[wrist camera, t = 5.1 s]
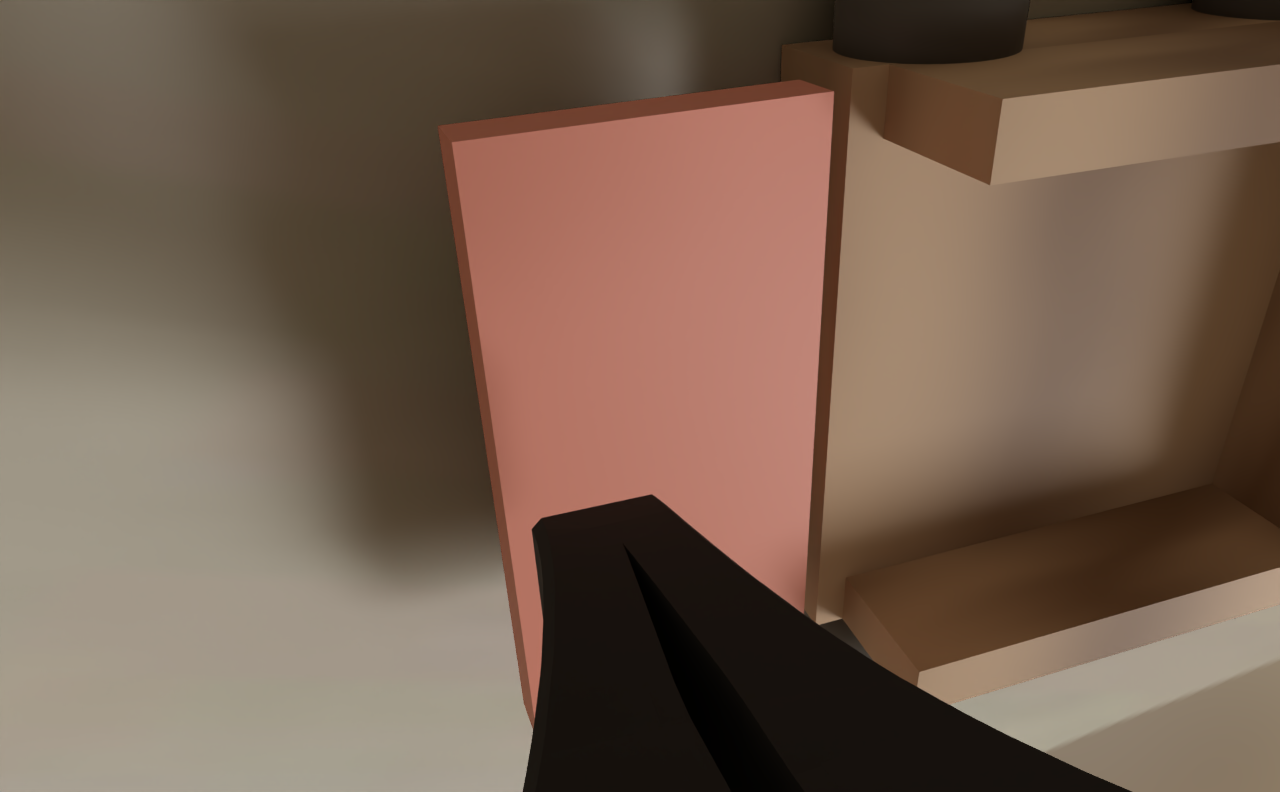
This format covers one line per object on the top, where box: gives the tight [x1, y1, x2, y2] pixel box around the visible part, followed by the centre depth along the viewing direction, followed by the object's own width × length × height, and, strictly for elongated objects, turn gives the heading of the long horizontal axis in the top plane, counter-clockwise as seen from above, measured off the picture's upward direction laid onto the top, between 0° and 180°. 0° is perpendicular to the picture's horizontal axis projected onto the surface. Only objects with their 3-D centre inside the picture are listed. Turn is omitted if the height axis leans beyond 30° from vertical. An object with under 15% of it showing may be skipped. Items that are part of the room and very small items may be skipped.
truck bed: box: [781, 0, 1280, 704], centre depth 14 cm, size 9×11×4 cm
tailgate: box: [438, 80, 834, 728], centre depth 13 cm, size 1×9×4 cm
